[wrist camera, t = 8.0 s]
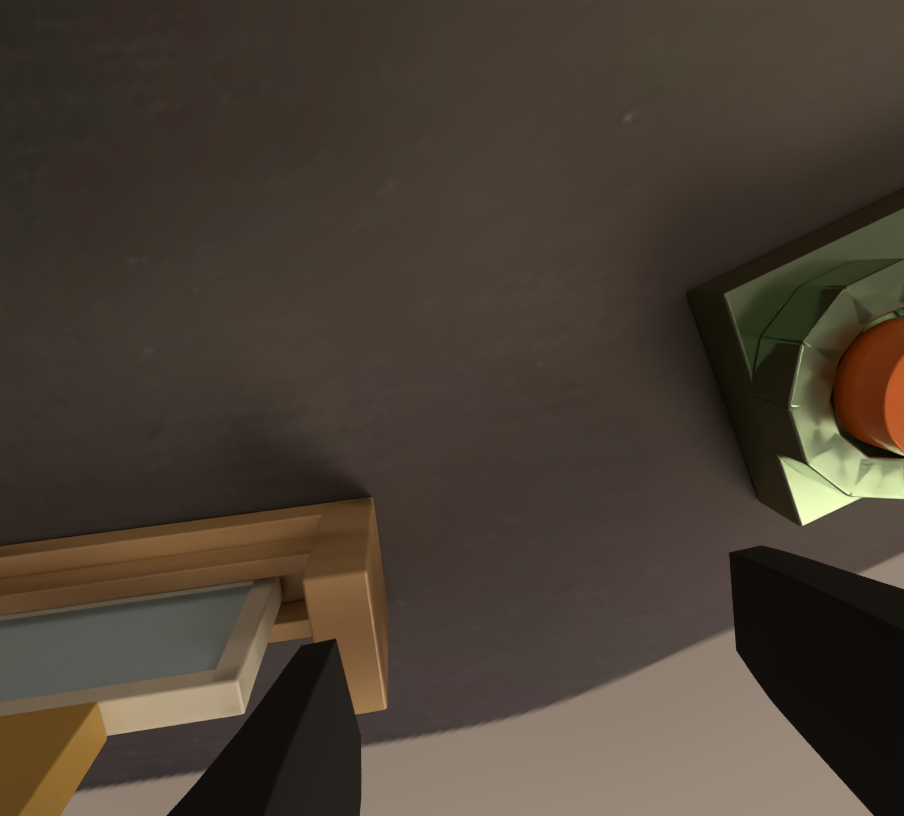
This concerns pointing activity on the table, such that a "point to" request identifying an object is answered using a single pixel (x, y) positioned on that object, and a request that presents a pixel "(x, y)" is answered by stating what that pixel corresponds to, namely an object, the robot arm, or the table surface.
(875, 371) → the button
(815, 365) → the control block
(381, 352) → the table surface
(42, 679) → the window pane
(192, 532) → the wooden rack
